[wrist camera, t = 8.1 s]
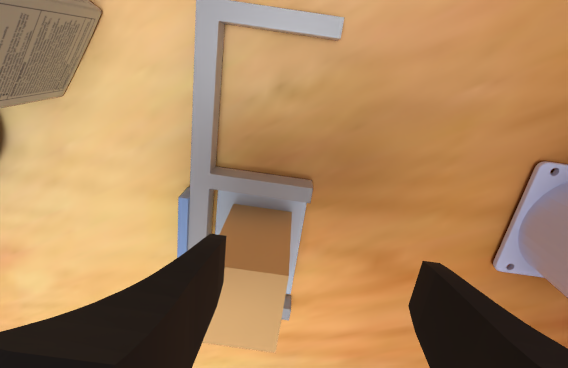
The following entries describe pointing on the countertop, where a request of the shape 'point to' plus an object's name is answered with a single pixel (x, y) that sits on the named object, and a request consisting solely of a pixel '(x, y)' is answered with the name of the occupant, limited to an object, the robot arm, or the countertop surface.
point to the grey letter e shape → (205, 119)
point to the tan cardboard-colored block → (252, 279)
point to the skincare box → (42, 46)
